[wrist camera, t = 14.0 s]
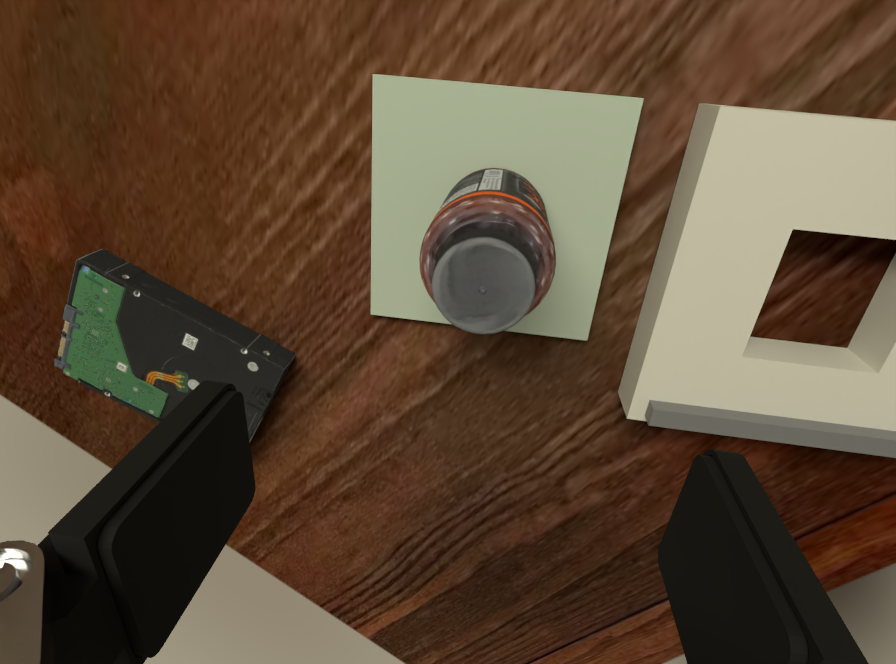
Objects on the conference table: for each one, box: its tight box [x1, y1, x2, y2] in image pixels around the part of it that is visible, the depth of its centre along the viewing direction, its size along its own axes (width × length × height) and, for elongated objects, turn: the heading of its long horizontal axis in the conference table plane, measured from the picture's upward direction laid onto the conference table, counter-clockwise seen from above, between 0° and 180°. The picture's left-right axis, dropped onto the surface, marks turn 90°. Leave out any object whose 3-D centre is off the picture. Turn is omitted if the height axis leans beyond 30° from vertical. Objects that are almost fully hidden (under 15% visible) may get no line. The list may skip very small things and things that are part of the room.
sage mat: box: [371, 74, 644, 341], centre depth 30 cm, size 14×14×1 cm
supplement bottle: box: [419, 168, 556, 334], centre depth 24 cm, size 6×6×11 cm
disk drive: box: [54, 249, 296, 444], centre depth 36 cm, size 10×3×15 cm
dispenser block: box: [618, 103, 896, 458], centre depth 28 cm, size 18×18×4 cm
